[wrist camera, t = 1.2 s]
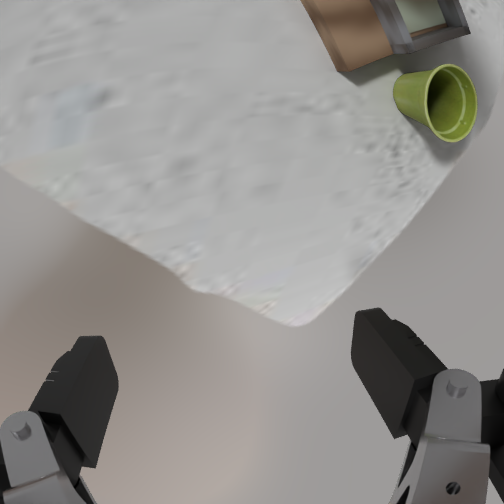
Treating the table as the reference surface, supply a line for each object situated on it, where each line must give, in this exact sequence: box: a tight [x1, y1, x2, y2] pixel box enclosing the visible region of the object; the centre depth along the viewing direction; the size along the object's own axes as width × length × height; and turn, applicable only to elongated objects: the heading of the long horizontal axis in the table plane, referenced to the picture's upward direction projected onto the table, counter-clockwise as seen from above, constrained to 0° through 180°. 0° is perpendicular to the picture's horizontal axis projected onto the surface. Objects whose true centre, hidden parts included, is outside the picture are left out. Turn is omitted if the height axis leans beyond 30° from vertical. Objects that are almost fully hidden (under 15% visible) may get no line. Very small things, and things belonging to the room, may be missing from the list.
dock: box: [301, 0, 471, 72], centre depth 26 cm, size 12×20×6 cm, turn 118°
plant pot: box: [393, 64, 477, 142], centre depth 32 cm, size 9×9×9 cm
